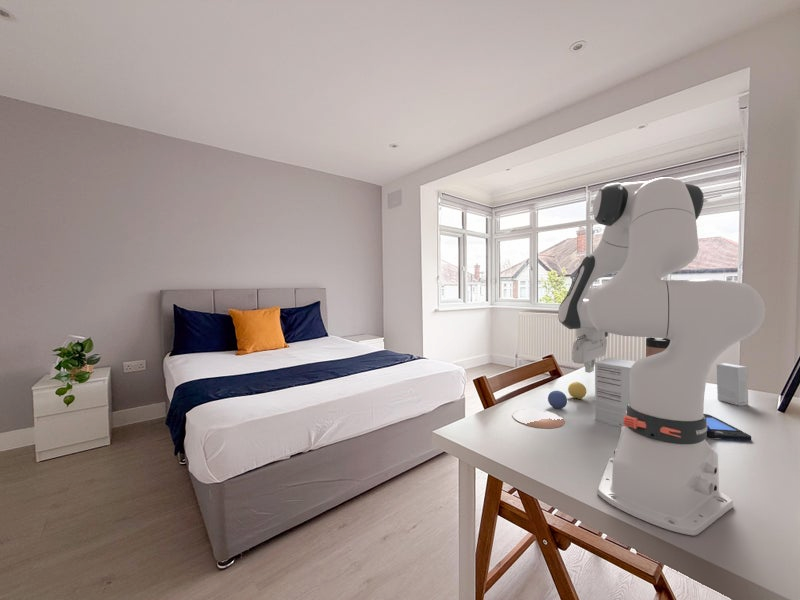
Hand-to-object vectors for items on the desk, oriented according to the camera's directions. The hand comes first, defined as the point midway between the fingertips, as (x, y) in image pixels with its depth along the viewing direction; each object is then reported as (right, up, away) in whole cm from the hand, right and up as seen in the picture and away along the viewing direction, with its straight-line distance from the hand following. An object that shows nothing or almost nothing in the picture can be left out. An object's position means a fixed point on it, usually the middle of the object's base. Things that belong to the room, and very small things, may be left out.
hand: (589, 371), depth 118 cm
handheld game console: (+12, -9, -30) cm, 34 cm away
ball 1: (-19, -6, -15) cm, 24 cm away
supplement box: (-6, -9, -25) cm, 27 cm away
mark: (-28, -9, -22) cm, 37 cm away
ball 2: (-8, -5, -6) cm, 11 cm away
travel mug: (+19, -8, -7) cm, 22 cm away
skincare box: (+39, -7, -12) cm, 41 cm away
